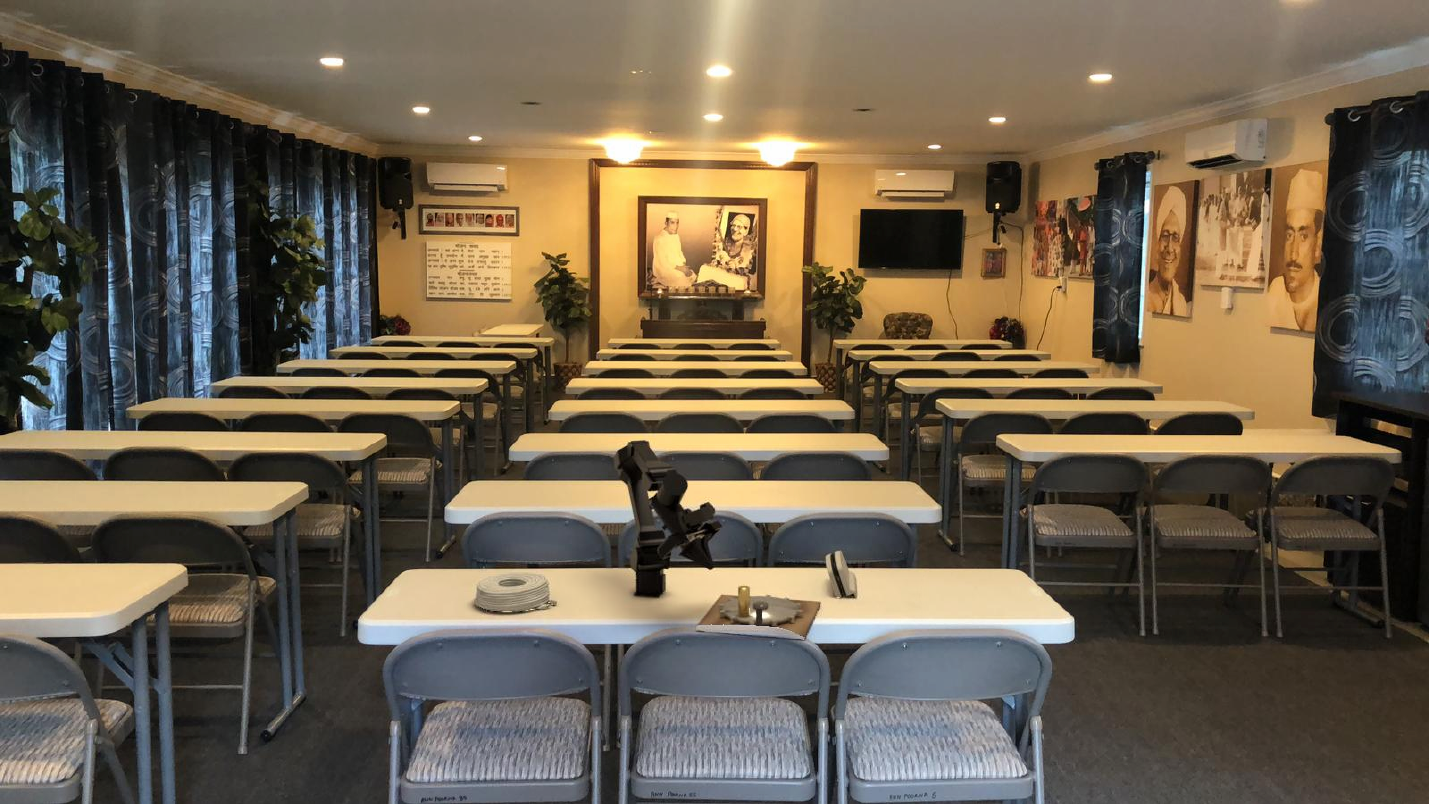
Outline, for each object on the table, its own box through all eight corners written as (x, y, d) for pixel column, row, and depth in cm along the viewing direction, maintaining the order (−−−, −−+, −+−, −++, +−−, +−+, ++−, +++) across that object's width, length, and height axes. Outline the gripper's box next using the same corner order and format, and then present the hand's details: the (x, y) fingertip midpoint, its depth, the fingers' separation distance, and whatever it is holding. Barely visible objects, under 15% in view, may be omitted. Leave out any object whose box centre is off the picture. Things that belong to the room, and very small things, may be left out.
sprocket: (709, 623, 235) (708, 589, 234) (728, 597, 253) (728, 565, 252) (795, 629, 230) (795, 595, 229) (808, 602, 249) (809, 570, 248)
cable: (561, 608, 250) (560, 583, 249) (489, 621, 241) (488, 595, 241) (534, 589, 265) (533, 565, 264) (465, 600, 256) (464, 575, 256)
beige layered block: (857, 599, 256) (843, 560, 255) (838, 604, 257) (825, 566, 256) (856, 578, 272) (843, 542, 272) (838, 584, 273) (825, 548, 272)
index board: (695, 631, 233) (695, 604, 233) (721, 598, 256) (721, 573, 256) (804, 640, 228) (804, 612, 227) (820, 605, 251) (820, 580, 250)
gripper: (668, 500, 232) (710, 557, 228) (715, 485, 248) (756, 538, 243) (639, 530, 238) (680, 586, 233) (688, 514, 253) (727, 566, 248)
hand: (712, 568), depth 239 cm, fingers closed
